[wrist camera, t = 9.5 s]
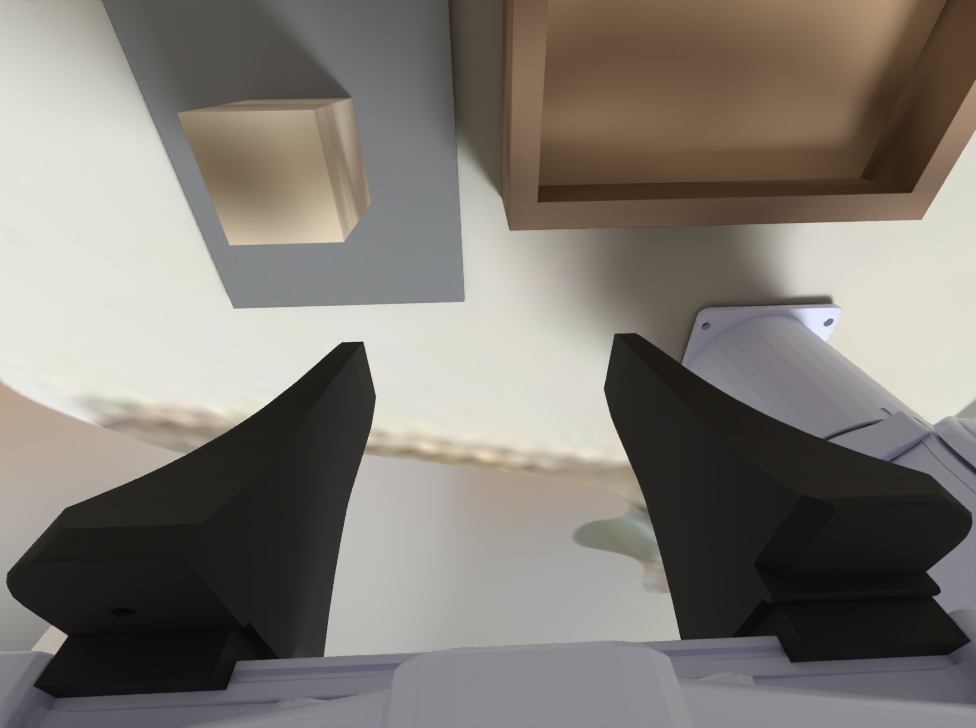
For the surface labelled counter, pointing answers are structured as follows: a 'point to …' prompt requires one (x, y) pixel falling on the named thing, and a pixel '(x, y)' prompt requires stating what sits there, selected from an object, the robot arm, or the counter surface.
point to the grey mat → (308, 75)
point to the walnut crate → (732, 110)
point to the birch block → (281, 168)
